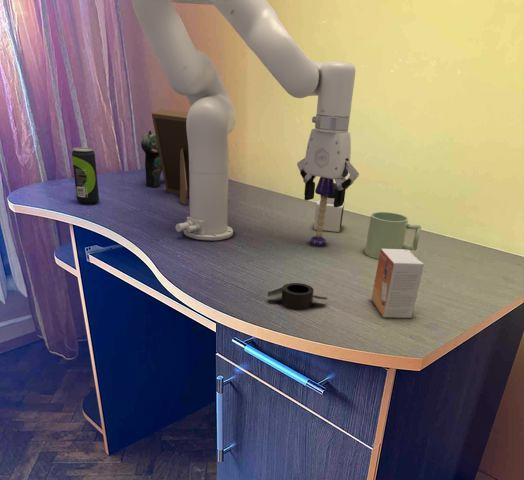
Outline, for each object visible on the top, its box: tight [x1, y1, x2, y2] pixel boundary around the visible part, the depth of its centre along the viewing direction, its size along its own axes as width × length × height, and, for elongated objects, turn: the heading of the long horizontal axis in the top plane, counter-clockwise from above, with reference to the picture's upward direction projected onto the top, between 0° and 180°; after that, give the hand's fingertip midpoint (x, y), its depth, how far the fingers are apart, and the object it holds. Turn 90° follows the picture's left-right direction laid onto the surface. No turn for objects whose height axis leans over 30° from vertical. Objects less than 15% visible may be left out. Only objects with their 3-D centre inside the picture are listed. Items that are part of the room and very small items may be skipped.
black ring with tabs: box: [267, 282, 328, 311], centre depth 96 cm, size 8×10×3 cm
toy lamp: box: [309, 177, 335, 248], centre depth 126 cm, size 5×5×17 cm
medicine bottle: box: [313, 182, 345, 233], centre depth 141 cm, size 7×7×12 cm
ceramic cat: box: [140, 130, 163, 188], centre depth 178 cm, size 20×6×20 cm, turn 147°
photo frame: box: [151, 108, 190, 206], centre depth 159 cm, size 15×22×25 cm
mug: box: [364, 211, 422, 260], centre depth 124 cm, size 12×9×9 cm
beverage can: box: [71, 147, 100, 206], centre depth 149 cm, size 6×6×15 cm
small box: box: [370, 249, 425, 319], centre depth 94 cm, size 8×6×10 cm
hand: (323, 202), depth 125 cm, fingers open, 7 cm apart
